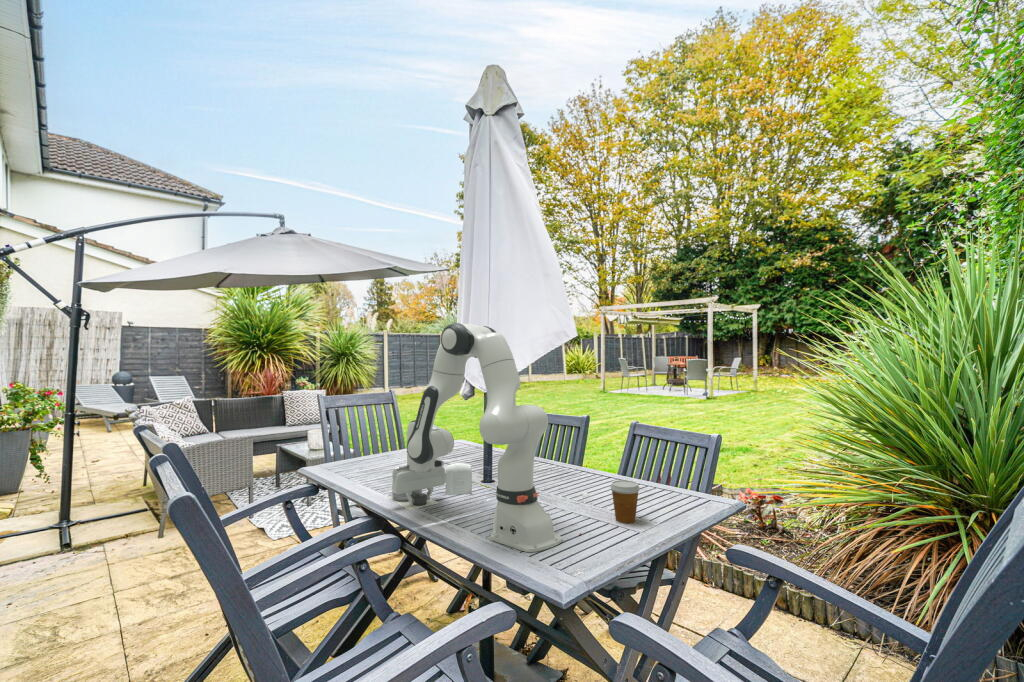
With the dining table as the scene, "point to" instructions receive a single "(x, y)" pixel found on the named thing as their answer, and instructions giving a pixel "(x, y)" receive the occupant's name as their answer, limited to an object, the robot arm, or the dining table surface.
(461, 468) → the photo printer
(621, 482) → the disposable coffee cup
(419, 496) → the cap
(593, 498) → the dining table surface
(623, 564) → the dining table surface
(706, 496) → the dining table surface
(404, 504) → the board
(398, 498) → the grey castle nut
